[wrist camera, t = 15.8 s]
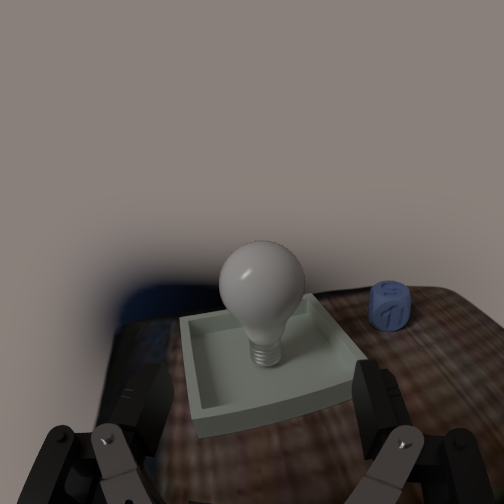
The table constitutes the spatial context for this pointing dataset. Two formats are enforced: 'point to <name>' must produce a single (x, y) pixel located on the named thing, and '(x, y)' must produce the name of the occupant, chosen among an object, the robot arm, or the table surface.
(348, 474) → the table surface
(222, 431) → the parts tray
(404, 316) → the decorative dice
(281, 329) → the lightbulb
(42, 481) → the robot arm
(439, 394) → the table surface
